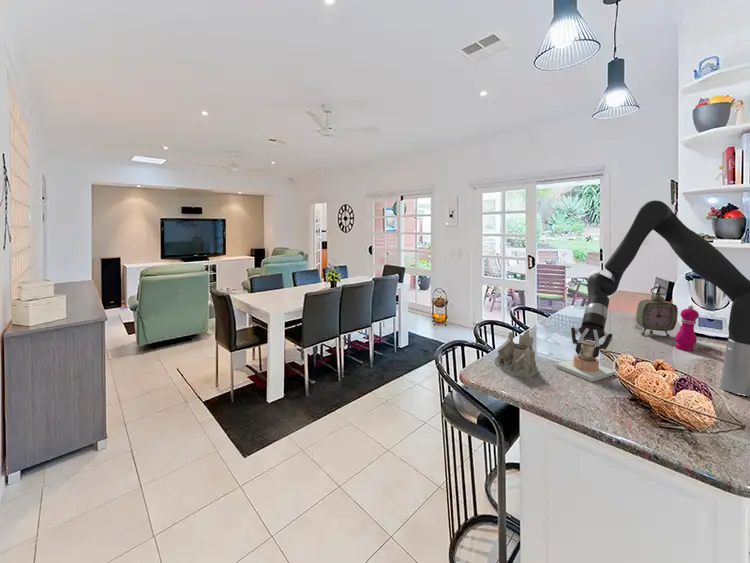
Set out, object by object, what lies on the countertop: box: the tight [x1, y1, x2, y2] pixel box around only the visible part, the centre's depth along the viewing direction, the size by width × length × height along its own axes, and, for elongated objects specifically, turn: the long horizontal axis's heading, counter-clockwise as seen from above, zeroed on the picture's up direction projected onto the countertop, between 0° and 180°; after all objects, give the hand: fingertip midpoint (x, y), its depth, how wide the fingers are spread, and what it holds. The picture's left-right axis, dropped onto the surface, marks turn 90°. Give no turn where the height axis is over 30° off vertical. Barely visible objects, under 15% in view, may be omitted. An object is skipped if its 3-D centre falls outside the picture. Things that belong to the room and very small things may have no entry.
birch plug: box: [579, 340, 596, 362], centre depth 130 cm, size 4×4×9 cm
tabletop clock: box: [635, 286, 679, 338], centre depth 175 cm, size 14×9×25 cm, turn 73°
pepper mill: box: [674, 305, 699, 352], centre depth 155 cm, size 7×7×20 cm
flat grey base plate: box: [555, 354, 616, 383], centre depth 130 cm, size 14×14×5 cm
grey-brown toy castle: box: [494, 329, 539, 379], centre depth 132 cm, size 16×16×15 cm
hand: (586, 355), depth 128 cm, fingers open, 4 cm apart
